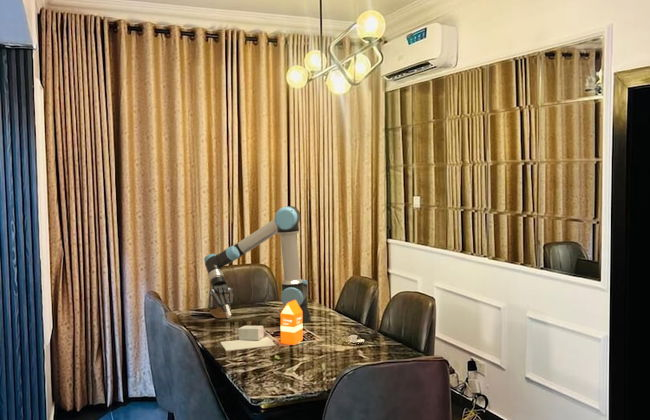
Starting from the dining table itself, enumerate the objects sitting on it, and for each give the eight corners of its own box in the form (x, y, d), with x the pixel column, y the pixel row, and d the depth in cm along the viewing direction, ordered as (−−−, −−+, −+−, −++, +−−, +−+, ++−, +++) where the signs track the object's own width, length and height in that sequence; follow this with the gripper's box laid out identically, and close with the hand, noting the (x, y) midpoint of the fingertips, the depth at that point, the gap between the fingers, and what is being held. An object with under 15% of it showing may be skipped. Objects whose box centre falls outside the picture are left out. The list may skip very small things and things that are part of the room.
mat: (268, 337, 288) (268, 336, 288) (276, 345, 274) (276, 344, 274) (220, 342, 280) (220, 341, 280) (226, 351, 266) (226, 350, 266)
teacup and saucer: (365, 342, 280) (365, 334, 280) (361, 347, 273) (361, 338, 272) (348, 341, 283) (348, 332, 283) (343, 345, 275) (343, 337, 275)
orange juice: (302, 340, 283) (302, 300, 282) (294, 344, 275) (294, 303, 274) (288, 338, 287) (288, 298, 286) (280, 343, 279) (279, 302, 278)
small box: (238, 339, 283) (258, 340, 281) (238, 328, 283) (258, 328, 281) (244, 336, 291) (264, 336, 288) (244, 325, 291) (263, 325, 288)
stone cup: (235, 318, 328) (235, 292, 328) (215, 320, 324) (214, 294, 323) (229, 312, 342) (228, 287, 341) (209, 314, 337) (208, 289, 337)
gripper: (227, 282, 314) (239, 318, 301) (204, 284, 307) (215, 322, 294) (230, 274, 309) (243, 310, 296) (207, 276, 302) (219, 314, 289)
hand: (229, 316), depth 295 cm, fingers closed
